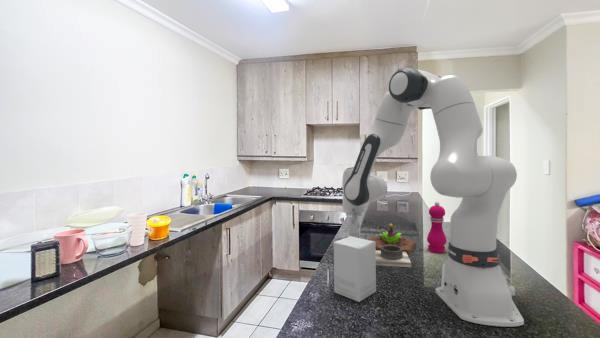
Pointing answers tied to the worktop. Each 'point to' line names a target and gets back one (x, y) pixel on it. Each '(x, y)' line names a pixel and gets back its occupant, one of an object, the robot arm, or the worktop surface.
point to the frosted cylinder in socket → (358, 231)
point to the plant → (393, 240)
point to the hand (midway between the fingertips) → (353, 240)
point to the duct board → (392, 257)
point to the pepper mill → (436, 229)
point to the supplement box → (355, 268)
